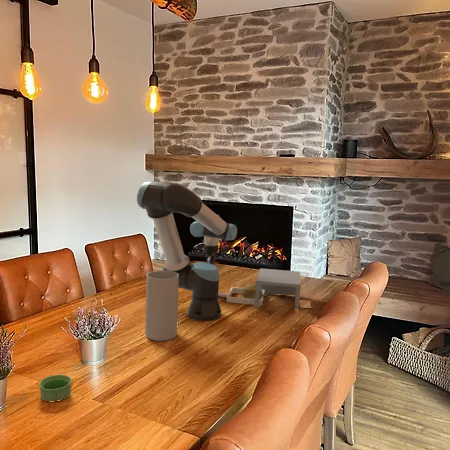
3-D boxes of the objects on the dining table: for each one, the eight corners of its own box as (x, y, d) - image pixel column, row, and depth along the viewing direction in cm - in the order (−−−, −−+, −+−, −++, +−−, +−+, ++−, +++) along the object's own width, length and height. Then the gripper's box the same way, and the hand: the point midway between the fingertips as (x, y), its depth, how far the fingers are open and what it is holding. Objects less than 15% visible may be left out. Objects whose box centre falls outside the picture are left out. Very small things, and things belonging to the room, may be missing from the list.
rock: (249, 309, 225) (259, 295, 221) (235, 294, 230) (244, 279, 226) (260, 306, 232) (270, 292, 229) (245, 291, 238) (255, 277, 234)
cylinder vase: (147, 342, 172) (148, 279, 168) (143, 330, 184) (145, 271, 180) (179, 340, 176) (181, 278, 172) (174, 328, 188) (176, 270, 184)
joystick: (264, 294, 237) (266, 266, 235) (262, 305, 220) (263, 274, 218) (208, 289, 242) (209, 261, 239) (201, 299, 225) (203, 269, 222)
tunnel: (310, 297, 238) (312, 272, 235) (312, 313, 213) (314, 285, 211) (258, 292, 241) (260, 268, 239) (254, 307, 217) (256, 280, 215)
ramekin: (75, 388, 138) (75, 374, 137) (66, 404, 129) (66, 390, 128) (45, 387, 137) (45, 374, 137) (34, 403, 129) (34, 389, 128)
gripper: (215, 248, 220) (213, 294, 224) (221, 242, 236) (219, 285, 240) (200, 247, 221) (199, 293, 225) (207, 241, 237) (205, 284, 241)
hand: (209, 289), depth 232 cm, fingers closed on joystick, 3 cm apart
